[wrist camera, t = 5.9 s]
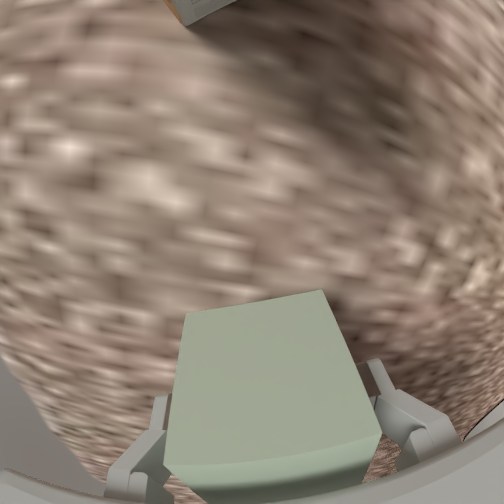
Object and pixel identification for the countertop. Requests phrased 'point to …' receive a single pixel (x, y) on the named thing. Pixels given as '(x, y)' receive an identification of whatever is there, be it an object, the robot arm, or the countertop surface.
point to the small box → (194, 9)
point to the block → (268, 404)
